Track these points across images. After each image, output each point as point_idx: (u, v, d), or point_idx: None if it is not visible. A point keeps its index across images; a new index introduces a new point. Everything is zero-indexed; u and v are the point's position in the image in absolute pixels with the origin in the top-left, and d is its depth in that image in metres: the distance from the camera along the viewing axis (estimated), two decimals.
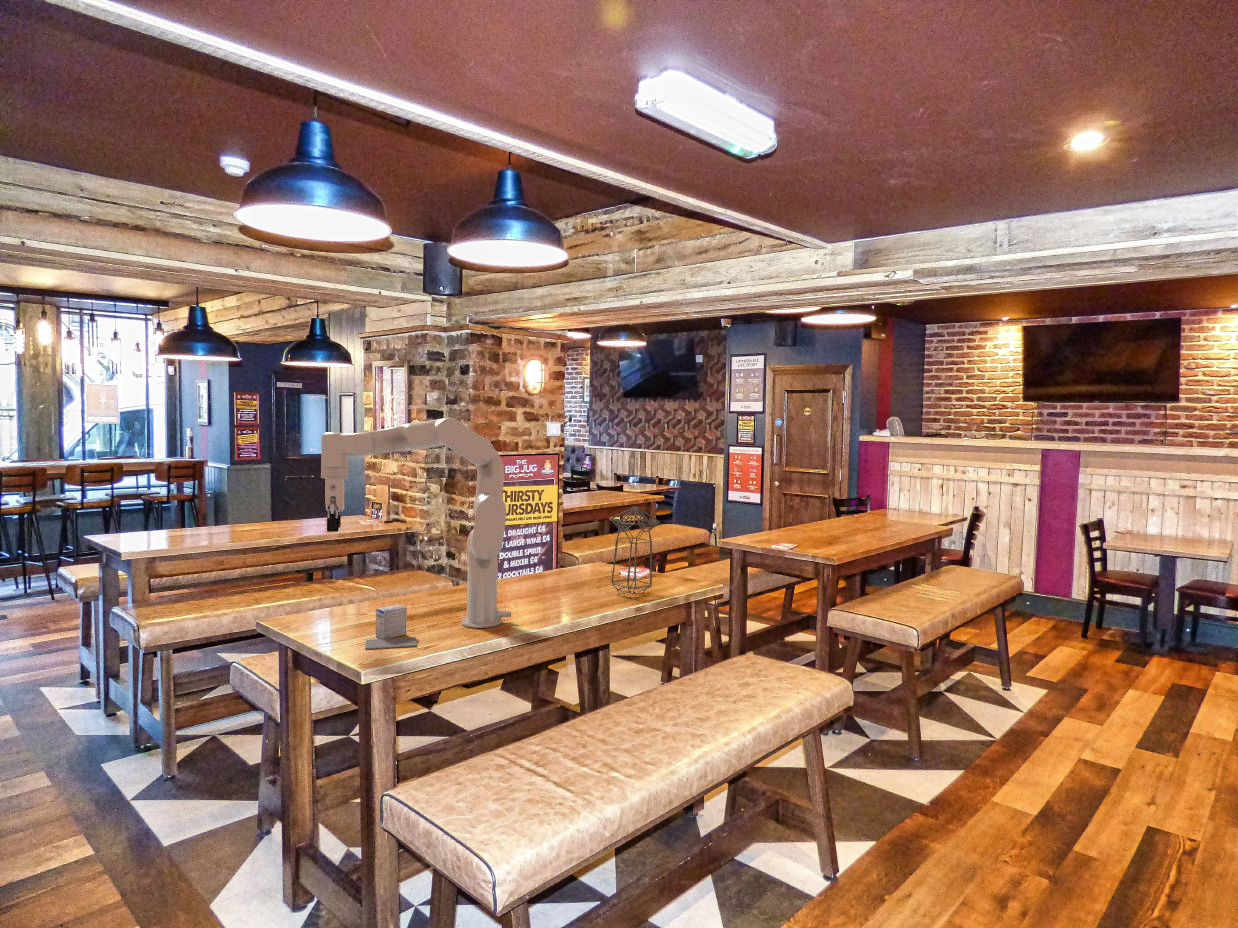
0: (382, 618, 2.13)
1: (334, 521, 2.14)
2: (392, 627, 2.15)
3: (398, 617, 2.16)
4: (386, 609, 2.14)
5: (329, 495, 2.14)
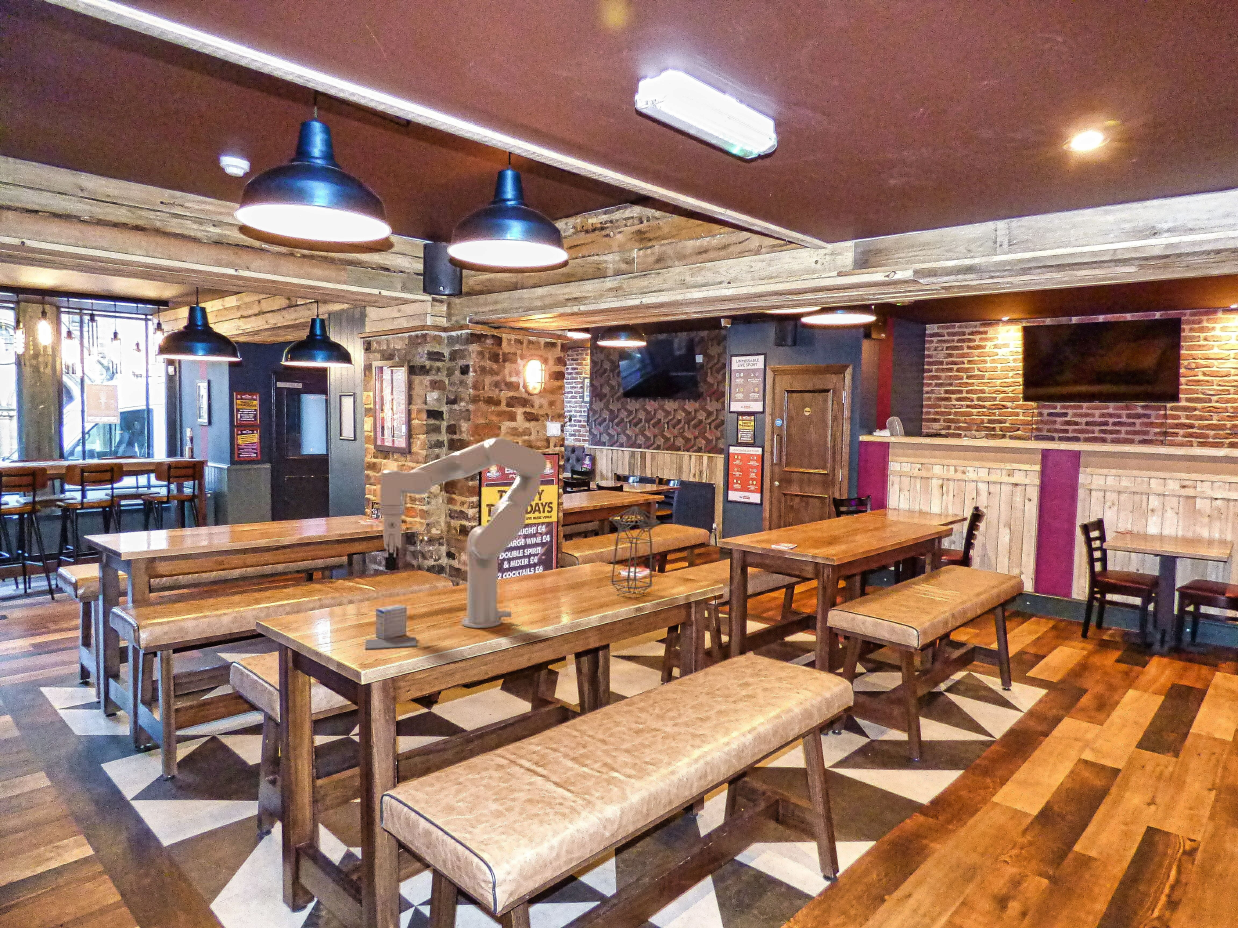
0: (382, 618, 2.13)
1: (392, 560, 2.21)
2: (392, 627, 2.15)
3: (398, 617, 2.16)
4: (386, 609, 2.14)
5: (388, 532, 2.17)
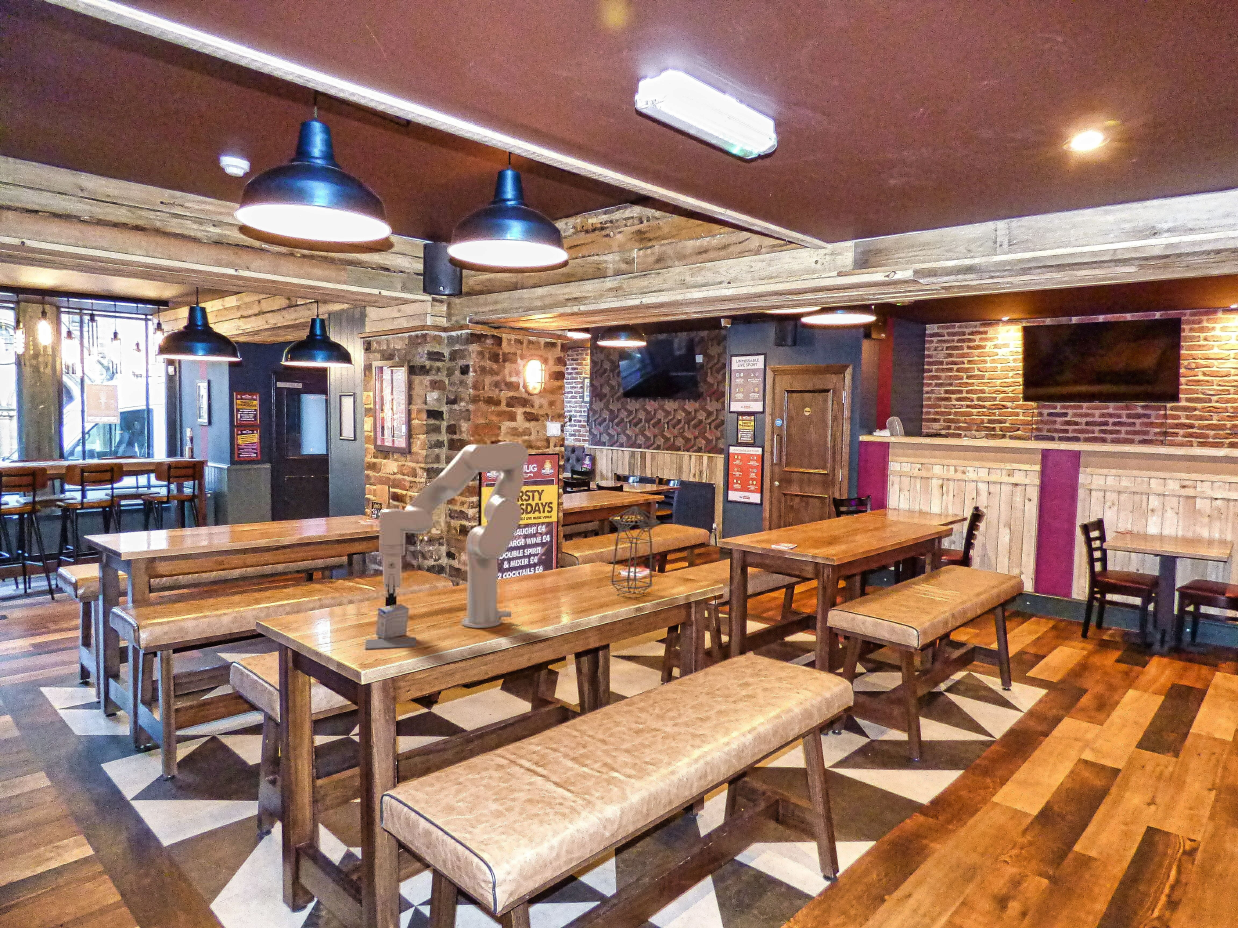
0: (384, 618, 2.12)
1: (392, 600, 2.18)
2: (393, 627, 2.14)
3: (399, 618, 2.16)
4: (388, 609, 2.14)
5: (387, 573, 2.14)
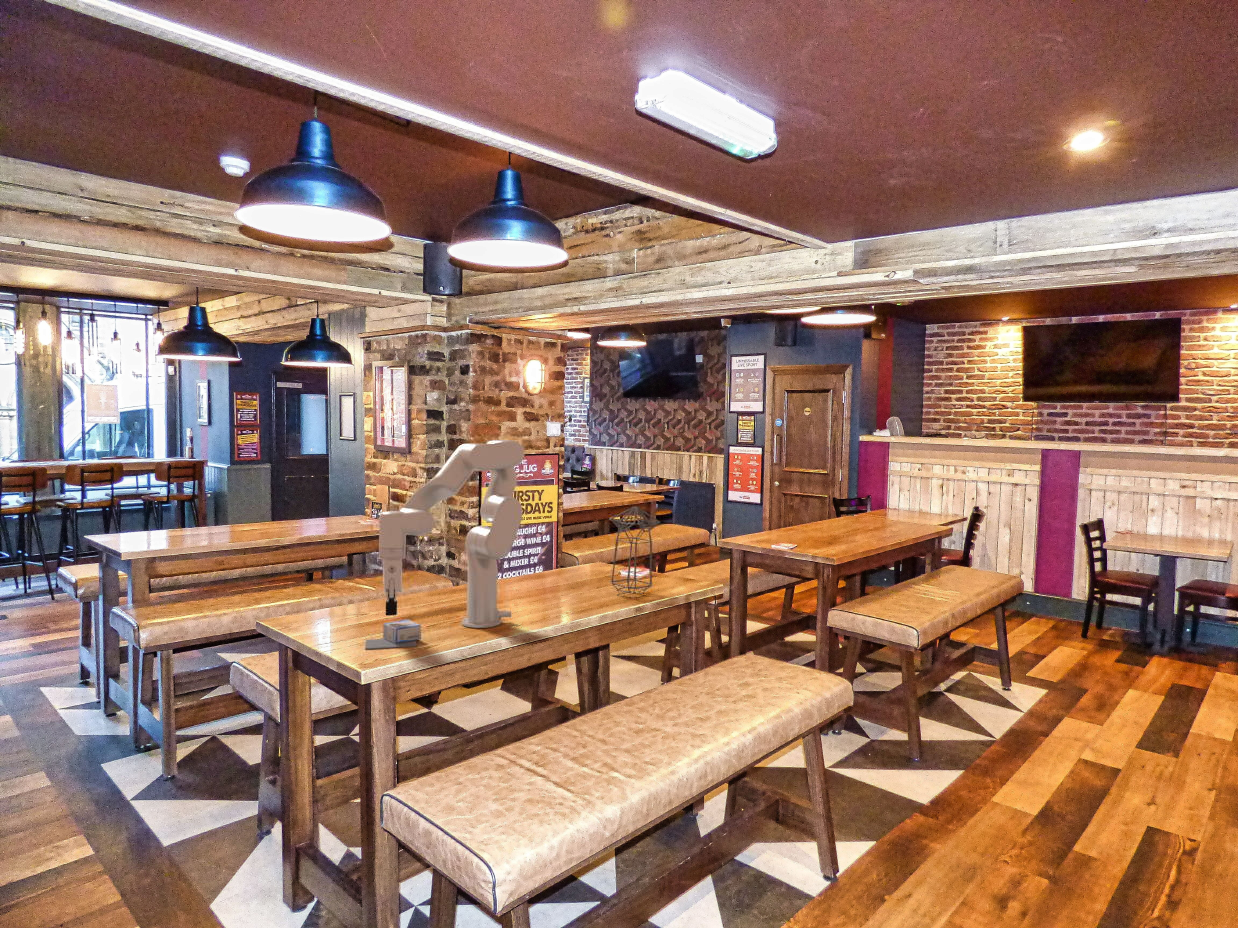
0: (392, 639, 2.09)
1: (393, 605, 2.12)
2: None
3: None
4: (402, 638, 2.08)
5: (388, 577, 2.08)
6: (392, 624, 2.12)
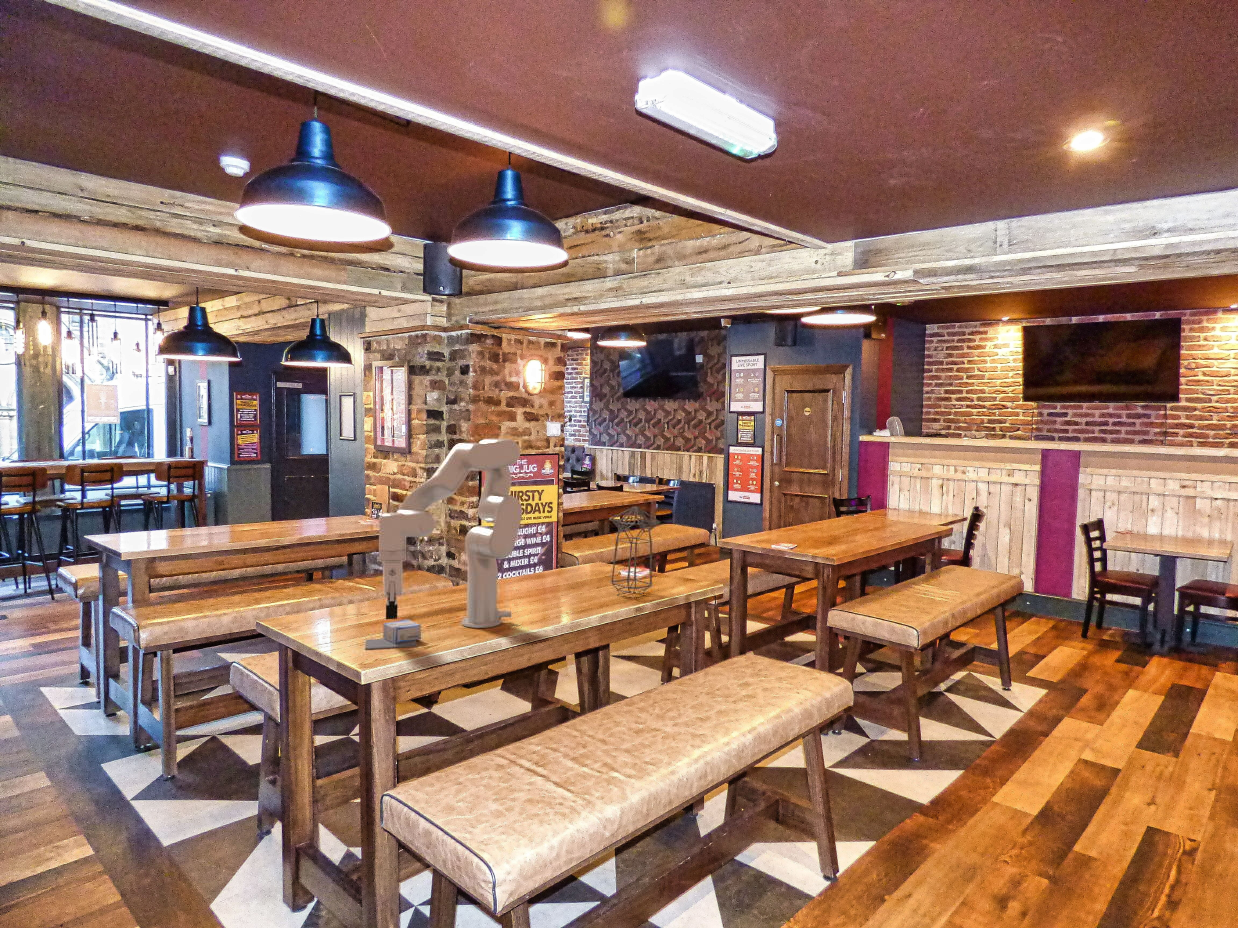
0: (392, 639, 2.09)
1: (393, 608, 2.09)
2: None
3: None
4: (402, 638, 2.08)
5: (388, 580, 2.05)
6: (392, 624, 2.12)
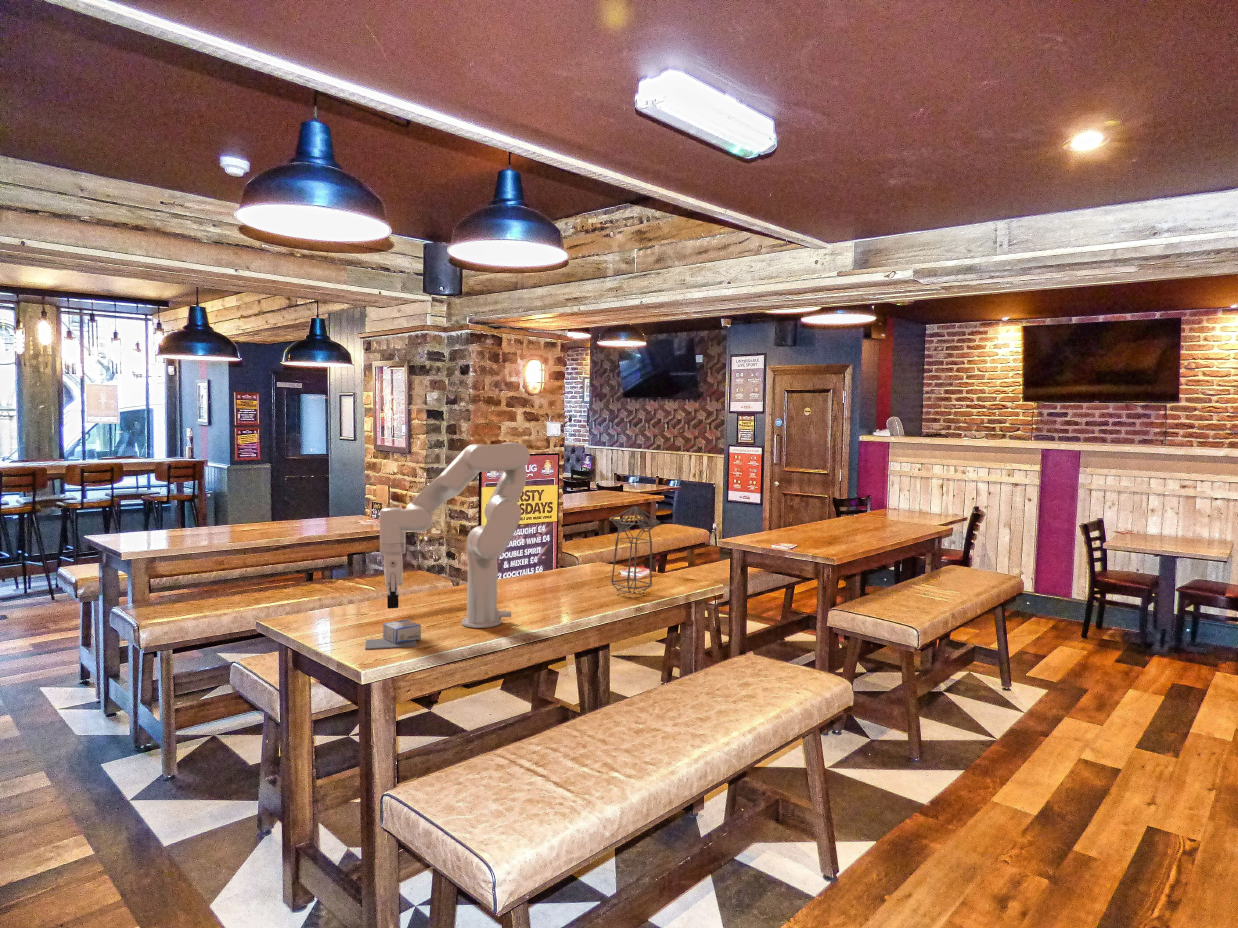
0: (392, 639, 2.09)
1: (394, 598, 2.20)
2: None
3: None
4: (402, 638, 2.08)
5: (389, 571, 2.16)
6: (392, 624, 2.12)
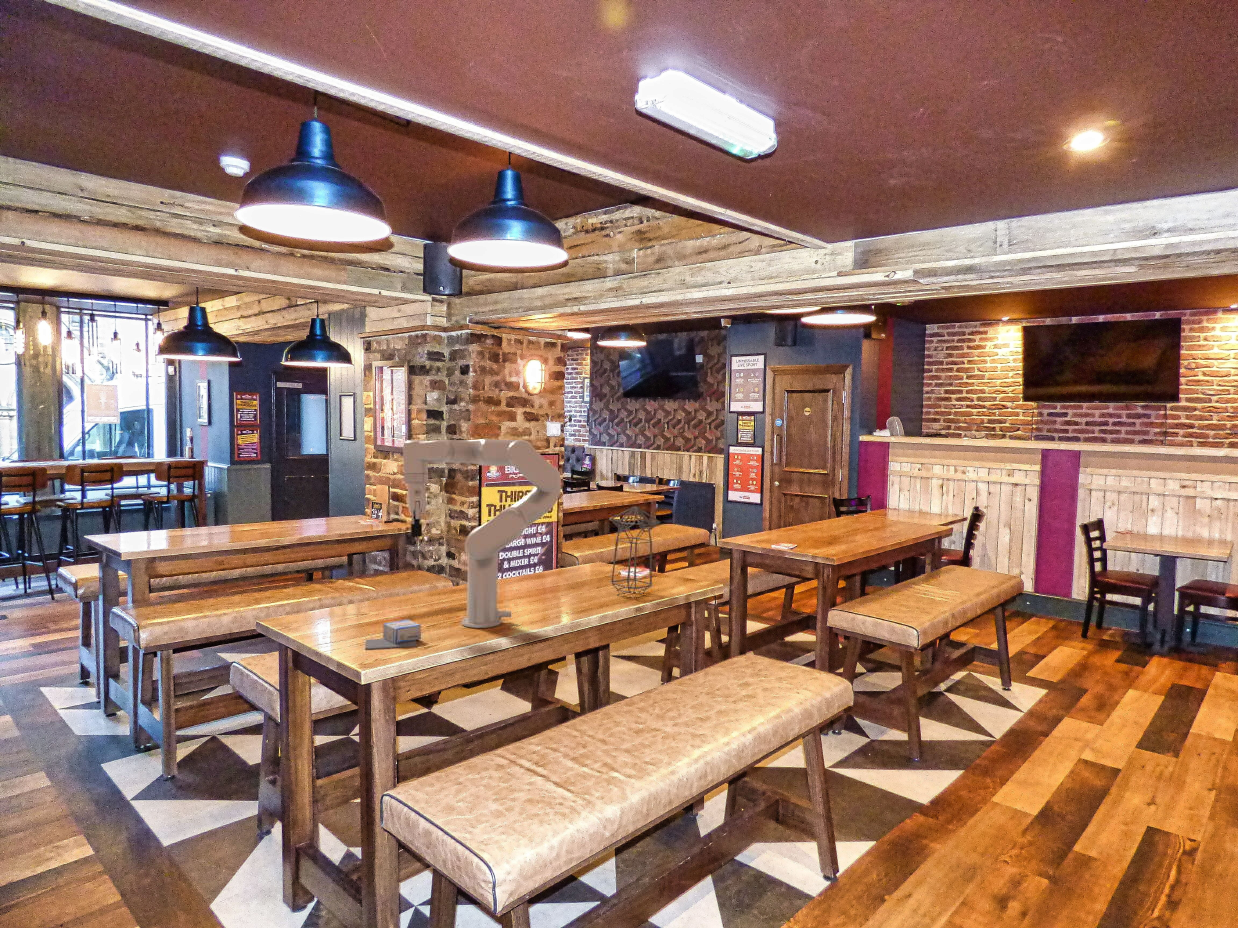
0: (392, 639, 2.09)
1: (418, 527, 2.30)
2: None
3: None
4: (402, 638, 2.08)
5: (414, 500, 2.26)
6: (392, 624, 2.12)
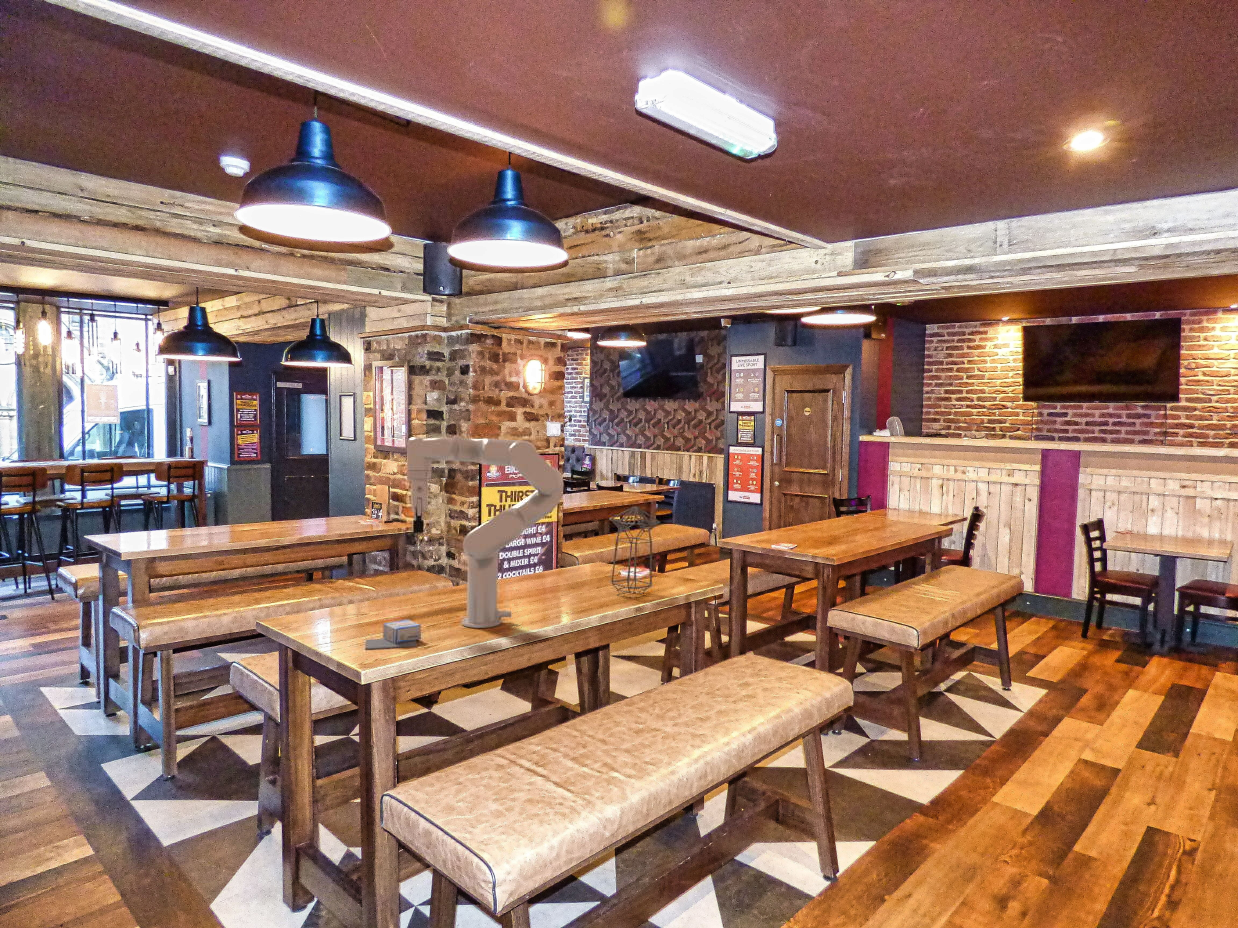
0: (392, 639, 2.09)
1: (420, 523, 2.31)
2: None
3: None
4: (402, 638, 2.08)
5: (416, 496, 2.27)
6: (392, 624, 2.12)
